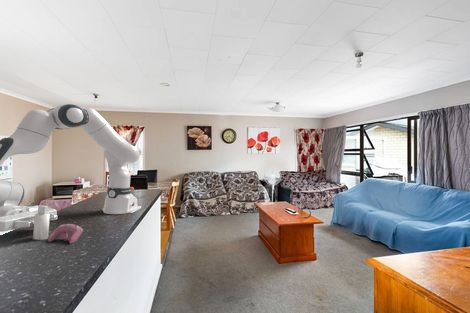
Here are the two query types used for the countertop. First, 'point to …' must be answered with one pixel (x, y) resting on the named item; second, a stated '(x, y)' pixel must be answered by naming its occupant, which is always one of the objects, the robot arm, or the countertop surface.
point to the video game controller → (62, 232)
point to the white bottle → (41, 223)
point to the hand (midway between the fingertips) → (44, 220)
